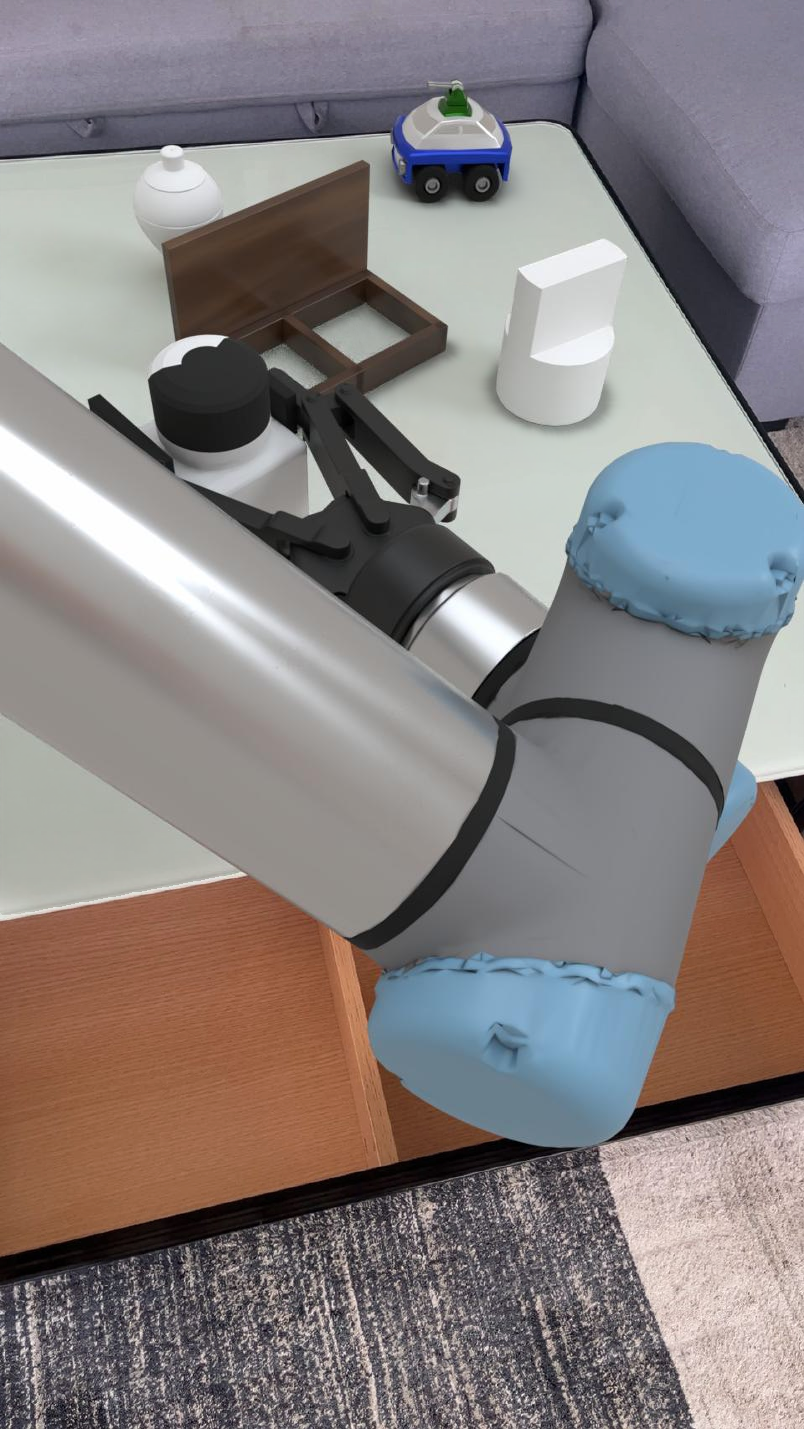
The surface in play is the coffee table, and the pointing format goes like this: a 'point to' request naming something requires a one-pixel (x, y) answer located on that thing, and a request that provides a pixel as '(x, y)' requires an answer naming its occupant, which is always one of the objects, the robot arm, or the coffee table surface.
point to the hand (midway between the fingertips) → (160, 386)
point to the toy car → (451, 145)
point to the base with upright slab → (560, 334)
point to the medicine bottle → (225, 424)
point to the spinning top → (175, 197)
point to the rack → (296, 280)
